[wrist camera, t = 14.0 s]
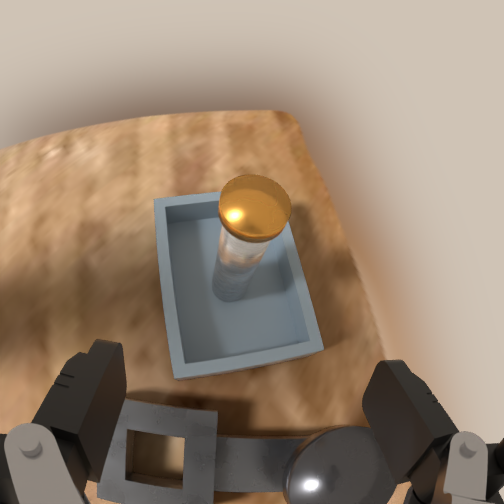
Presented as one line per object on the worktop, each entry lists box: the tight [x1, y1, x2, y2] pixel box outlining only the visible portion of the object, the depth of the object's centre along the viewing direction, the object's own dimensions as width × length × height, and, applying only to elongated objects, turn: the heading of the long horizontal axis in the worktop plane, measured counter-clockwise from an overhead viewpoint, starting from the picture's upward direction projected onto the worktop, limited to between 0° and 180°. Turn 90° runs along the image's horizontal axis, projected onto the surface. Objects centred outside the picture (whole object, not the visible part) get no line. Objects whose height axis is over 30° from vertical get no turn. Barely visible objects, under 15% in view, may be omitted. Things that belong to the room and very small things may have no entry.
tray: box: [154, 192, 324, 381], centre depth 28 cm, size 16×12×4 cm
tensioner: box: [97, 398, 397, 504], centre depth 19 cm, size 22×9×9 cm, turn 87°
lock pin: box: [212, 175, 291, 302], centre depth 23 cm, size 4×4×13 cm
